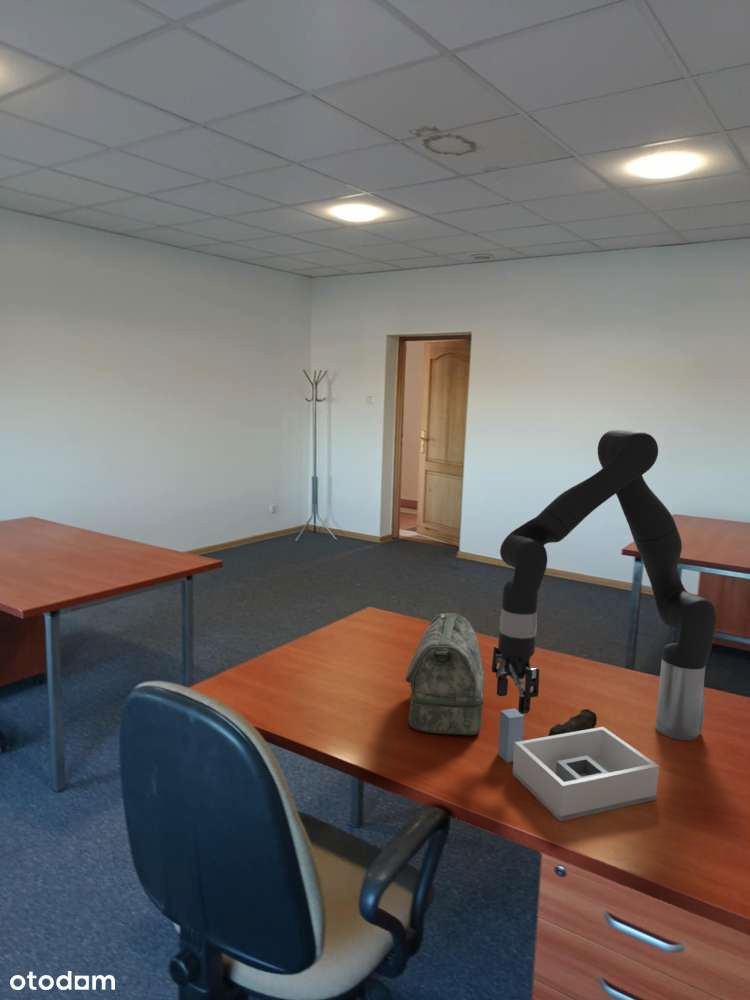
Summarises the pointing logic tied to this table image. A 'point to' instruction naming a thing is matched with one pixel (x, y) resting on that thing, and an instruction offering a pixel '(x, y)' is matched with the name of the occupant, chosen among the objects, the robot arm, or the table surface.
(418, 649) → the lunch bag
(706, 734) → the table surface
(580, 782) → the walled box
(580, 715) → the hand tool
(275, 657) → the table surface
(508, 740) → the plug
